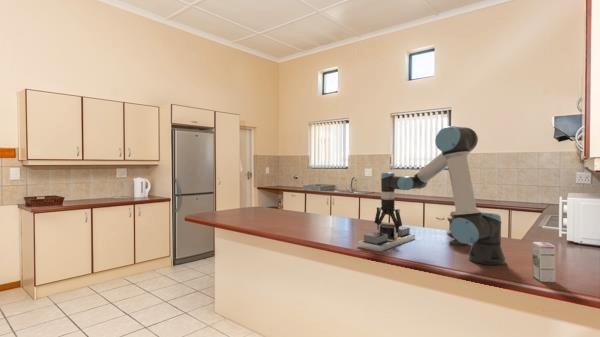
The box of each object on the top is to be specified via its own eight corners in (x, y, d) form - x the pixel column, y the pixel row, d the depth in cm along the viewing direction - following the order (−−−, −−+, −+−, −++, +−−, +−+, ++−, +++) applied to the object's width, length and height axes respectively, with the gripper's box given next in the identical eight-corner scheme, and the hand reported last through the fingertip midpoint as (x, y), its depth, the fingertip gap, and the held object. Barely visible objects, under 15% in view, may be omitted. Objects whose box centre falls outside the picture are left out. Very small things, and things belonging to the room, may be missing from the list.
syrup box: (556, 282, 128) (556, 245, 128) (539, 281, 129) (539, 244, 129) (547, 277, 134) (548, 242, 134) (531, 276, 135) (532, 241, 135)
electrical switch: (397, 239, 193) (397, 223, 192) (394, 241, 188) (394, 225, 188) (382, 237, 198) (381, 222, 197) (379, 239, 194) (378, 224, 193)
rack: (415, 238, 202) (415, 227, 202) (380, 251, 174) (380, 238, 174) (394, 235, 212) (394, 224, 212) (358, 246, 184) (358, 234, 184)
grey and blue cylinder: (469, 241, 194) (469, 211, 194) (470, 246, 183) (470, 214, 183) (447, 240, 199) (447, 210, 199) (446, 244, 188) (446, 213, 188)
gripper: (408, 199, 188) (408, 238, 188) (374, 196, 203) (375, 233, 204) (402, 200, 182) (402, 240, 183) (368, 197, 198) (368, 235, 198)
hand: (388, 236), depth 193 cm, fingers closed on electrical switch, 9 cm apart
